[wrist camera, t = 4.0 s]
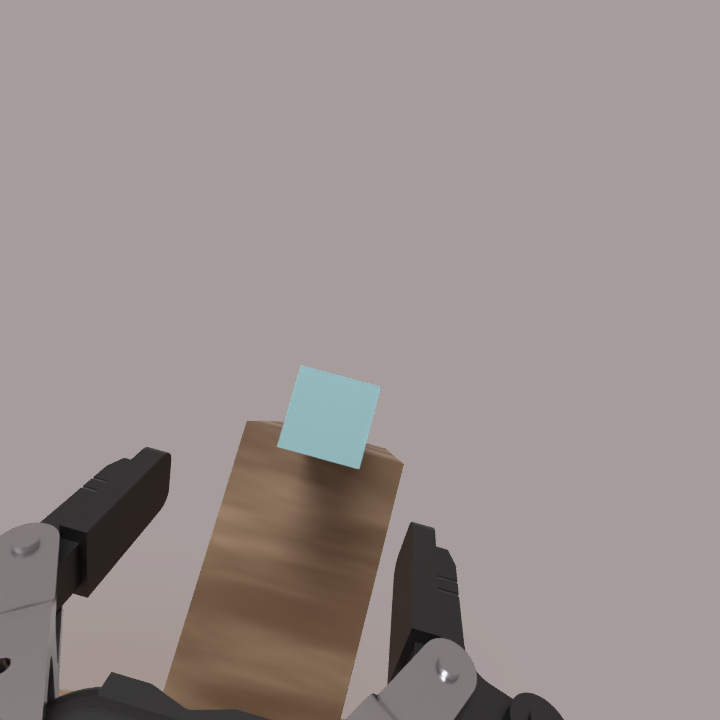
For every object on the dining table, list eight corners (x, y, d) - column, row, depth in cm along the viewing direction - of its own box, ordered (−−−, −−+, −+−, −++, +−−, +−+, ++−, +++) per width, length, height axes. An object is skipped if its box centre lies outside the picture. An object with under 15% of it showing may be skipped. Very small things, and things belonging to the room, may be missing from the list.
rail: (320, 430, 41) (329, 399, 42) (351, 439, 41) (360, 408, 42) (276, 446, 16) (301, 365, 16) (359, 469, 16) (381, 386, 16)
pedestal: (184, 775, 37) (288, 421, 42) (292, 808, 37) (385, 448, 41) (56, 1038, 21) (246, 420, 26) (245, 1099, 21) (403, 464, 26)
